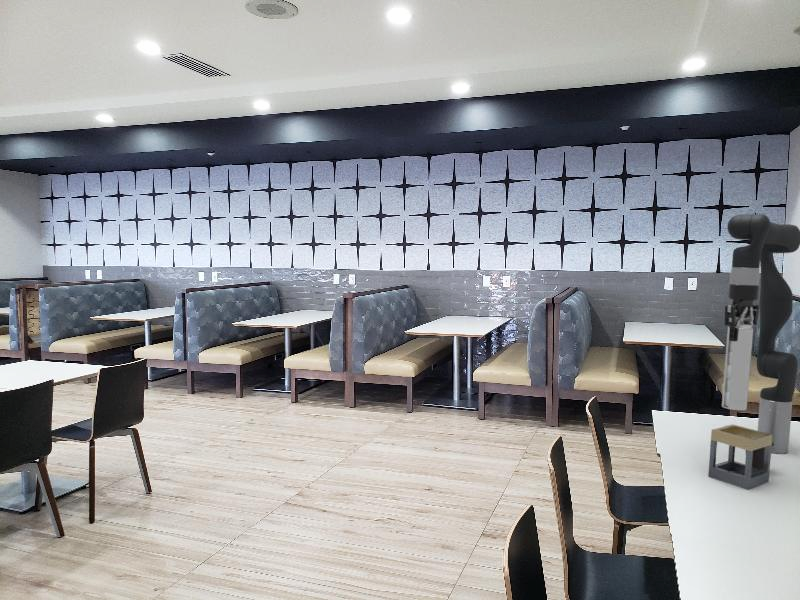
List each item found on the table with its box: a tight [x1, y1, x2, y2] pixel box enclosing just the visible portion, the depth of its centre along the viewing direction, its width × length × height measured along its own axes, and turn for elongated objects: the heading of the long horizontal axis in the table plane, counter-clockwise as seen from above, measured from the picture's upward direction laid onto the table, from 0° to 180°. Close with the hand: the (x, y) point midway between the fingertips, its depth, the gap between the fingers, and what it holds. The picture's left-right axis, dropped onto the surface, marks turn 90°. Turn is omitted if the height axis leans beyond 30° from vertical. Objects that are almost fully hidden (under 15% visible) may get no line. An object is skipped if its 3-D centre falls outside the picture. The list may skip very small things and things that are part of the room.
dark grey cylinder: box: [752, 442, 774, 470], centre depth 186 cm, size 8×8×10 cm
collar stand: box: [708, 423, 772, 490], centre depth 178 cm, size 11×11×14 cm
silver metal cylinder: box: [721, 322, 754, 412], centre depth 180 cm, size 6×6×25 cm
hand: (739, 340), depth 179 cm, fingers closed on silver metal cylinder, 6 cm apart
